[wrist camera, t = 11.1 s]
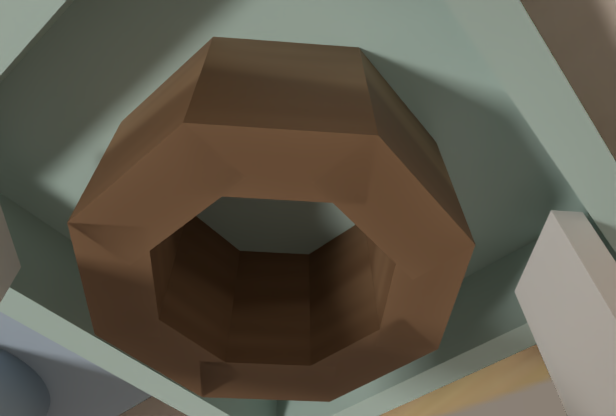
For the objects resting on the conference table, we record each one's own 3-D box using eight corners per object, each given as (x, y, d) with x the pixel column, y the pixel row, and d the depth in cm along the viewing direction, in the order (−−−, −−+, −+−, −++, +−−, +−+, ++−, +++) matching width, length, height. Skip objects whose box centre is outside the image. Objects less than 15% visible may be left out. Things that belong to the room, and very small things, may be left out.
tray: (-100, 132, 15) (-186, 208, 12) (289, -342, 9) (284, -393, 7) (276, 382, 22) (273, 463, 19) (622, 198, 16) (684, 276, 14)
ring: (108, 28, 12) (40, 113, 9) (458, 54, 13) (511, 144, 9) (145, 281, 17) (109, 394, 14) (396, 293, 17) (417, 405, 14)
